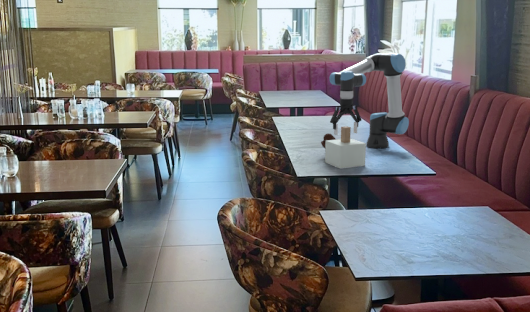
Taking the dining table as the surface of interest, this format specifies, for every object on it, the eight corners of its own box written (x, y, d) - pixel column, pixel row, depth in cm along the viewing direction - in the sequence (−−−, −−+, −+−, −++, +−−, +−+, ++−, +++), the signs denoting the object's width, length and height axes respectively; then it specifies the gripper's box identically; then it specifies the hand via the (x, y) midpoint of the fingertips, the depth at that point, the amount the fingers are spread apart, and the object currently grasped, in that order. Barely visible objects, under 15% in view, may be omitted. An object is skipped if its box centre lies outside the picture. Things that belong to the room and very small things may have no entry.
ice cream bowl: (337, 158, 340) (338, 135, 337) (319, 158, 342) (320, 134, 339) (338, 155, 350) (339, 132, 347) (321, 154, 352) (322, 131, 349)
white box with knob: (349, 159, 338) (350, 123, 333) (365, 165, 323) (366, 128, 318) (325, 162, 331) (325, 125, 326) (340, 168, 316) (341, 130, 311)
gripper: (360, 96, 326) (359, 131, 331) (324, 98, 316) (324, 134, 321) (368, 97, 320) (366, 133, 324) (331, 100, 310) (330, 136, 314)
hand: (345, 133), depth 323 cm, fingers open, 13 cm apart
